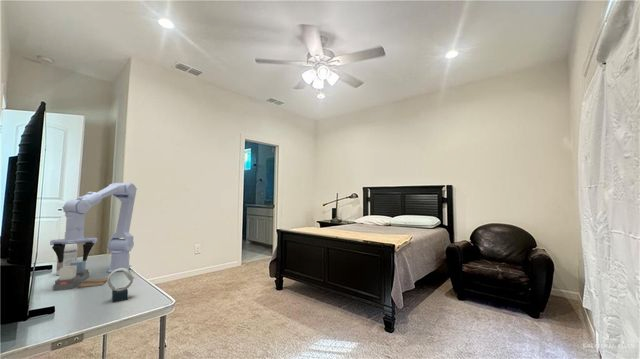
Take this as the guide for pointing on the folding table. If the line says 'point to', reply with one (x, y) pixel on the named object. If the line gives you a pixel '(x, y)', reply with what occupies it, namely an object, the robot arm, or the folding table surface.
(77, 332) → the folding table surface
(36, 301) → the folding table surface
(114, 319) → the folding table surface
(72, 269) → the block
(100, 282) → the walnut board
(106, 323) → the folding table surface
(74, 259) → the bath foam
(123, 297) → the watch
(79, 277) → the power strip
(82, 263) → the blue charger
